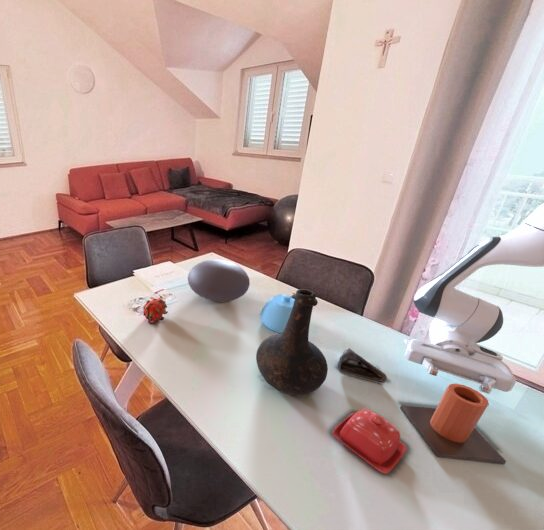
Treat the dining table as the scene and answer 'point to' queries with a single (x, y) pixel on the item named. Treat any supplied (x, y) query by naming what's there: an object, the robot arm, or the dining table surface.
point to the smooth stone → (218, 280)
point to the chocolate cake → (359, 367)
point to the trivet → (442, 447)
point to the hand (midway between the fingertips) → (458, 381)
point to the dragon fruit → (154, 309)
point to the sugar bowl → (277, 312)
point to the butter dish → (371, 439)
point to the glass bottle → (293, 352)
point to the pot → (458, 412)
